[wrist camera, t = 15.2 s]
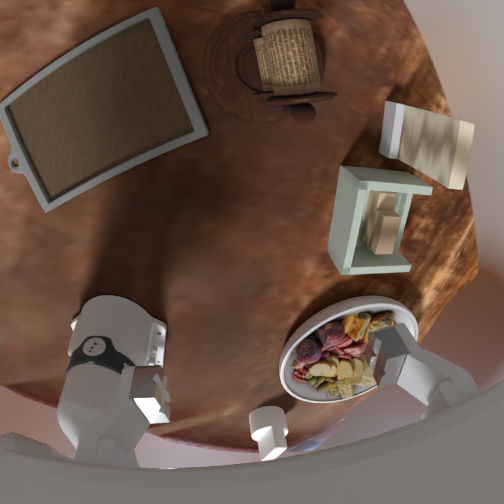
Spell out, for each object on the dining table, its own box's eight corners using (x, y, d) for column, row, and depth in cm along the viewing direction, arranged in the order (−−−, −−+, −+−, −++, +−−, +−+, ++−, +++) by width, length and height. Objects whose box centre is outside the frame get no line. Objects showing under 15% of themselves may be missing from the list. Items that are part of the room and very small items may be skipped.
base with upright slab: (274, 424, 77) (282, 461, 67) (243, 421, 74) (248, 461, 64) (290, 407, 73) (299, 447, 63) (257, 404, 70) (263, 446, 60)
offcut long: (376, 239, 49) (384, 248, 47) (359, 239, 49) (367, 248, 46) (387, 187, 45) (397, 194, 42) (370, 185, 44) (379, 192, 42)
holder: (410, 157, 44) (422, 162, 41) (378, 152, 43) (388, 158, 40) (418, 108, 40) (430, 111, 37) (385, 100, 39) (396, 102, 36)
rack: (389, 249, 52) (409, 271, 46) (326, 250, 50) (341, 274, 44) (407, 172, 45) (432, 187, 39) (340, 165, 43) (360, 180, 37)
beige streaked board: (404, 157, 43) (462, 189, 31) (391, 155, 42) (448, 188, 30) (411, 106, 39) (474, 124, 27) (397, 103, 38) (460, 120, 26)
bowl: (431, 308, 62) (448, 332, 55) (352, 392, 74) (362, 416, 67) (331, 265, 52) (348, 294, 46) (250, 374, 65) (254, 404, 58)
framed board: (209, 134, 38) (34, 220, 41) (209, 133, 40) (38, 216, 42) (157, 5, 29) (-16, 116, 31) (159, 8, 30) (-10, 114, 32)
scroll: (324, 111, 39) (404, 141, 22) (216, 130, 39) (218, 171, 22) (307, 10, 32) (378, -34, 15) (193, 25, 32) (175, -22, 14)
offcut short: (384, 245, 46) (392, 254, 44) (368, 245, 46) (375, 254, 44) (393, 209, 43) (401, 217, 41) (376, 209, 43) (384, 216, 41)
